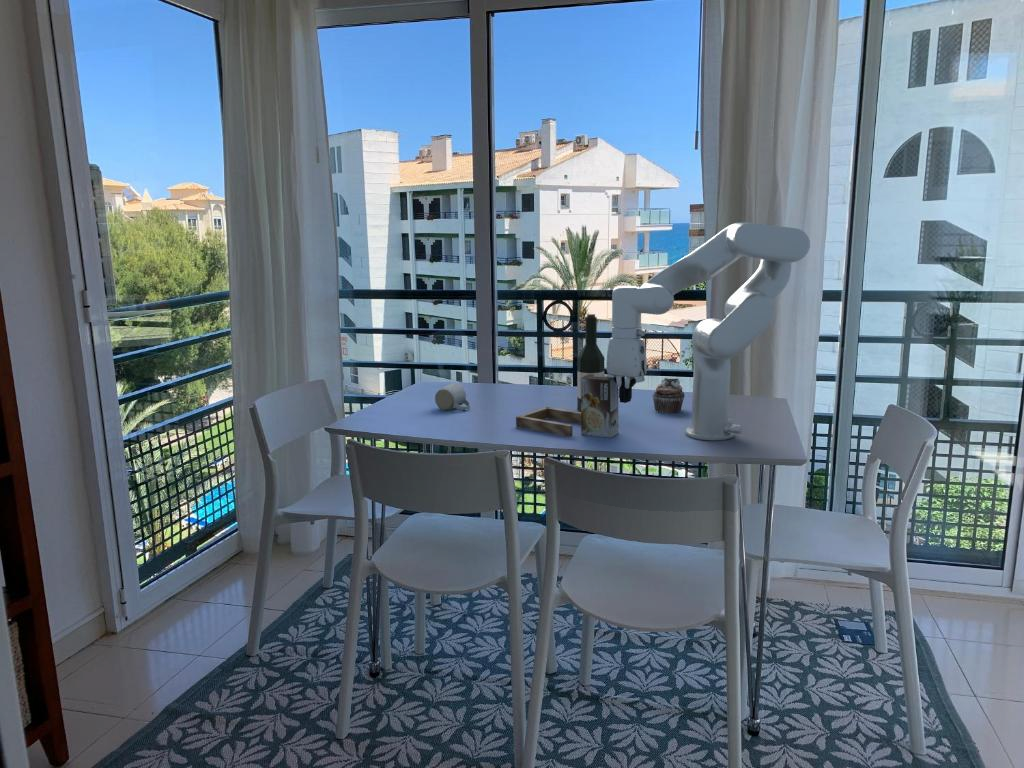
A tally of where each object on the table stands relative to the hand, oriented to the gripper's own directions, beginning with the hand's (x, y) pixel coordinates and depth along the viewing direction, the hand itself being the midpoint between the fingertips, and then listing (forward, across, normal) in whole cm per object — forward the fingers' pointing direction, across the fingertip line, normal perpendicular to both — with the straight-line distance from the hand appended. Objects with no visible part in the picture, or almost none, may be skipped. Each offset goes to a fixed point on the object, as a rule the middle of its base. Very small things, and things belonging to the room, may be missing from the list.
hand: (625, 401), depth 199 cm
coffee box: (+10, +8, 0) cm, 13 cm away
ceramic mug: (+10, +62, +1) cm, 63 cm away
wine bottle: (+10, +25, -22) cm, 35 cm away
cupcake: (+10, +5, -35) cm, 37 cm away
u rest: (+10, +22, 0) cm, 24 cm away
